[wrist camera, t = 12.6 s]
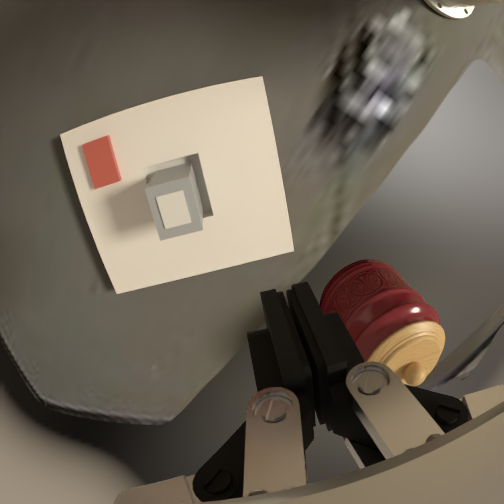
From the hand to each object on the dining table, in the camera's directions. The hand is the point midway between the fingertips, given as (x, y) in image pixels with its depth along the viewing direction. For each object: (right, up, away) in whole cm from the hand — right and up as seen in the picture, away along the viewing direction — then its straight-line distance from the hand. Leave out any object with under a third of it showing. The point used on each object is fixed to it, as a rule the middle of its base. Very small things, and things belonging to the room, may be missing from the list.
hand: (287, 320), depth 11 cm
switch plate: (-9, +10, +24) cm, 27 cm away
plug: (-9, +9, +23) cm, 27 cm away
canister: (+14, -4, +34) cm, 37 cm away
